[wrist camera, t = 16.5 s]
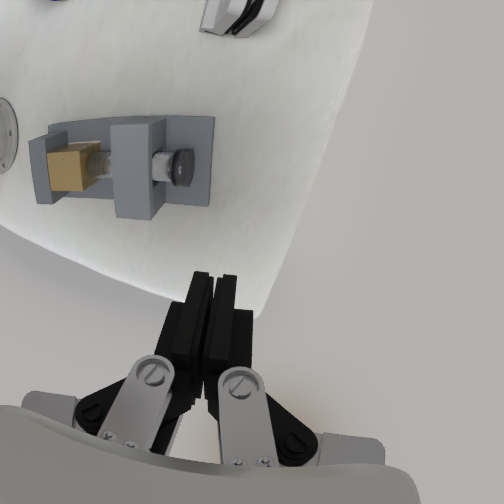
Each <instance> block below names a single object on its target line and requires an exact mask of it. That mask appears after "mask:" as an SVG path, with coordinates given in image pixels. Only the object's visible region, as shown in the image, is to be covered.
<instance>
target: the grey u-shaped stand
mask: <svg viewBox="0 0 504 504" xmlns="http://www.w3.org/2000/svg"><path fill="white" fill-rule="evenodd" d="M214 124H215V117H202V116H130V117H113V118H100V119H90V120H80V121H72V122H65V123H58V124H52V125H49V126H48V134H46V135H44V136H41V137H38V138H36V139H33V140H31V141H28V142H29V153H30V162H31V170H32V177H33V184H34V190H35V195H36V201H37V204H54V203H56V202H57V201H58V200H60V199H61V198H62V197H77V198H99V199H114V201H115V211H116V217H117V218H129V219H140V220H151V219H152V218H153V217H154V215H155V214H156V213H157V212H158V210H159V209H160V208H161V207H162V205H163V204H164V203H172V204H184V205H195V206H206V207H208V205H209V201H210V182H211V165H212V150H213V137H214ZM87 142H100V143H101V152H111V163H112V178H113V179H100V180H99V181H97V182H96V183H94V184H93V185H91V186H90V187H89V188H87V189H86V190H84V191H51V186H50V179H49V171H48V162H47V153H49V152H51V151H53V150H56V149H58V148H60V147H63V146H65V145H67V144H73V143H87ZM177 149H191V150H193V151H194V156H195V165H194V174H193V179H192V182H191V185H190V186H189V187H181V186H174V185H173V183H172V182H166V181H152V153H154V152H172V153H175V152H176V150H177Z"/></svg>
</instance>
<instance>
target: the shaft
mask: <svg viewBox="0 0 504 504" xmlns="http://www.w3.org/2000/svg"><path fill="white" fill-rule="evenodd" d="M194 165H195V156H194V151H193V150H191V149H177V150H176V152H175V153H172V152H154V153H152V181H166V182H172V183H173V185H174V186H181V187H189V186H190V185H191V182H192V179H193V174H194ZM87 172H88V175H89V177H90V178H92V179H113V178H112V163H111V152H94V153H92V154H91V155H90V157H89V159H88V162H87Z"/></svg>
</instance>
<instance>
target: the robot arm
mask: <svg viewBox="0 0 504 504" xmlns="http://www.w3.org/2000/svg"><path fill="white" fill-rule="evenodd" d="M17 138H18V135H17V124H16V119H15V115H14V112H13V110H12V108H11V106H10V105H9V103H8V102H7V101H6V100H4V99H1V98H0V174H2V173H3V172H5V171H6V170H7V169H9V167H10V166H11V164H12V162H13V160H14V157H15V153H16V148H17ZM236 282H237V276H236V275H226V274H223V278H220V277H218V278H217V283H216V288H215V293H214V298H213V285H214V277H211V276H209V273H208V272H199V271H195V272H194V275H193V278H192V281H191V284H190V287H189V291H188V294H187V297H186V300H185V303H182V302H174V301H173V302H172V303H171V305H170V308H169V310H168V313H167V316H166V319H165V322H164V325H163V328H162V331H161V334H160V337H159V340H158V343H157V346H156V349H155V352H154V355H147V356H145V357H142V358H140V359H139V360H138V361H136V363H135V364H134V365H133V367H132V369H131V371H130V372H129V374H128V376H127V377H126V378H124V379H122V380H120V381H118V382H116V383H114V384H112V385H110V386H108V387H106V388H103V389H101V390H99V391H97V392H95V393H93V394H90V395H88V396H86V397H84V398H83V399H77V398H76V397H75V396H67V395H60V394H53V393H46V392H40V391H31V392H29V393H27V394H26V396H25V397H24V399H23V401H22V405H21V407H17V406H10V405H0V504H421V503H420V498H419V494H418V491H417V488H416V485H415V483H414V481H413V479H412V478H411V477H410V476H409V474H407V473H406V472H404V471H402V470H400V469H397V468H394V467H390V466H386V465H385V449H384V447H383V445H382V443H381V442H379V441H378V440H377V439H373V438H365V437H355V436H346V435H339V434H332V433H323V434H319V433H313V432H312V431H311V430H310V429H309V428H308V427H306V426H305V425H304V424H303V423H302V422H300V421H299V420H298V419H297V418H295V417H294V416H293V415H292V414H291V413H289V412H288V411H287V410H286V409H284V408H283V407H282V406H281V405H280V404H279V403H277V402H276V401H275V400H274V399H273V398H272V397H271V396H269V395H268V394H267V393H266V392H265V387H264V383H263V380H262V378H261V376H260V375H259V374H258V373H257V372H255V371H254V370H252V369H251V364H252V334H253V333H252V331H253V310H242V309H234V303H235V293H236ZM203 381H204V395H205V399H207V400H208V412H209V413H210V414H211V415H212V416H213V417H214V418H215V419H216V420H217V427H218V440H219V451H220V463H221V464H213V463H205V462H198V461H192V460H185V459H180V458H174V457H169V453H170V450H171V447H172V445H173V442H174V439H175V436H176V434H177V431H178V428H179V426H180V423H181V420H182V417H183V413H185V412H187V411H188V410H190V409H191V405H195V399H196V398H199V399H200V398H201V394H202V388H203Z"/></svg>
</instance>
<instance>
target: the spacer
mask: <svg viewBox="0 0 504 504" xmlns="http://www.w3.org/2000/svg"><path fill="white" fill-rule="evenodd" d="M94 152H101V143H100V142H87V143H73V144H67V145H65V146H63V147H60V148H58V149H56V150H53V151H51V152H49V153H47V162H48V171H49V179H50V186H51V191H84V190H86V189H87V188H89V187H90V186H91V185H93V184H94V183H96V182H97V181H99V180H100V179H92V178H90V177H89V175H88V172H87V162H88V159H89V157H90V155H91V154H92V153H94Z"/></svg>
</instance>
